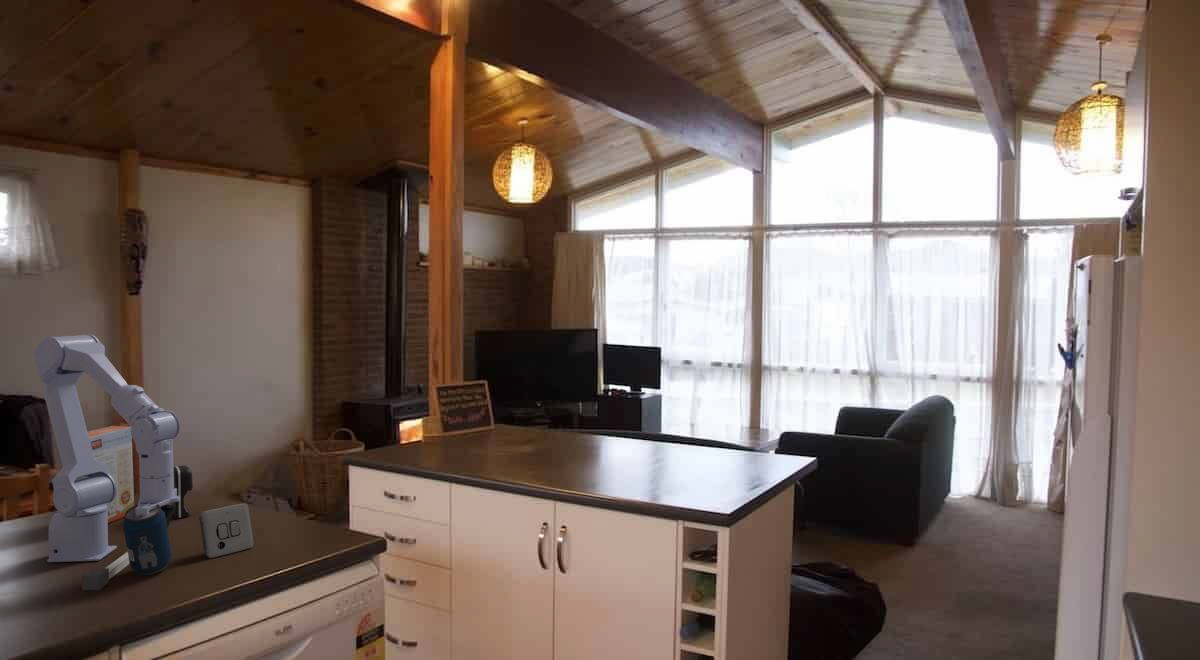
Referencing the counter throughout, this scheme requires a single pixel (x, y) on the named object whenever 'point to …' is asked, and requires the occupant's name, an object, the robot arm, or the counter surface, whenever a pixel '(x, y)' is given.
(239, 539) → the electrical switch
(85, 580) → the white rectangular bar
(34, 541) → the counter surface
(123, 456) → the cracker box
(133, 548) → the soda can
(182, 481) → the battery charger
